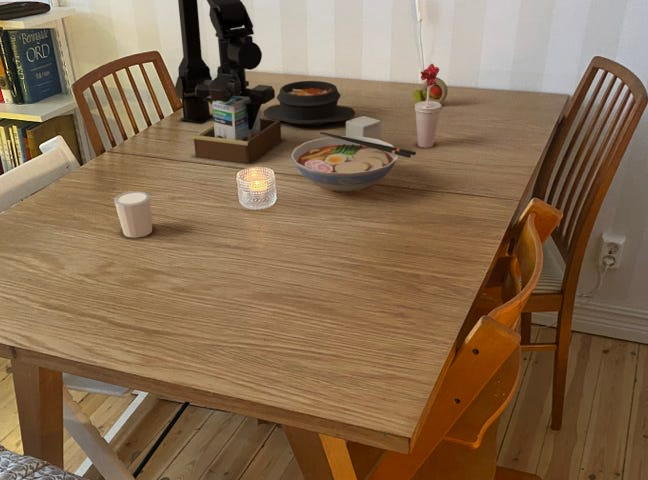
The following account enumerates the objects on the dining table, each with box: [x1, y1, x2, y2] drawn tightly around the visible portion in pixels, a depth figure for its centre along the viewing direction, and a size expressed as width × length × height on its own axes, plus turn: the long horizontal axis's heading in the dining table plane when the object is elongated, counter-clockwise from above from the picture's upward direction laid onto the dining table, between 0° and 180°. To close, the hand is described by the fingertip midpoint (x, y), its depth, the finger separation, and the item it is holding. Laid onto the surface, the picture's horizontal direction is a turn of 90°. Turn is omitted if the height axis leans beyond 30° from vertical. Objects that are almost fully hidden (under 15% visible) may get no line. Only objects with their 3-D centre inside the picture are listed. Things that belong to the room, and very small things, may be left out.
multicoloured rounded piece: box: [412, 63, 449, 105], centre depth 203 cm, size 6×11×9 cm
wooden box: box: [192, 117, 282, 165], centre depth 181 cm, size 15×18×5 cm
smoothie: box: [413, 85, 442, 149], centre depth 176 cm, size 6×6×14 cm
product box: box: [345, 115, 382, 140], centre depth 176 cm, size 6×6×7 cm
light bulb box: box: [212, 96, 261, 141], centre depth 178 cm, size 11×7×11 cm, turn 148°
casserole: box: [262, 80, 356, 127], centre depth 196 cm, size 25×19×8 cm
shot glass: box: [113, 191, 153, 239], centre depth 143 cm, size 7×7×7 cm
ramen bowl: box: [290, 131, 417, 193], centre depth 158 cm, size 25×23×8 cm
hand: (237, 127), depth 179 cm, fingers closed on light bulb box, 7 cm apart
